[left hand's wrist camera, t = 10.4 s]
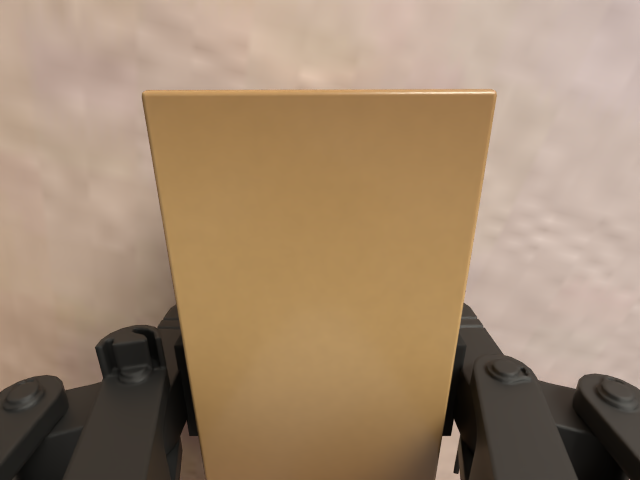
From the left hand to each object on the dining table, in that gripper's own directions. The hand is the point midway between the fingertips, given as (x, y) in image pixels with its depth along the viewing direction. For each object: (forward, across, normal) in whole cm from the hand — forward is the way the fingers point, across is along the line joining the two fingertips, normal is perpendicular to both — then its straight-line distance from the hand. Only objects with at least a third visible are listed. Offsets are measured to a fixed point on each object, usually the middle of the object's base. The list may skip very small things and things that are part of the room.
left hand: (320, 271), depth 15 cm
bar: (+1, 0, -20) cm, 20 cm away
